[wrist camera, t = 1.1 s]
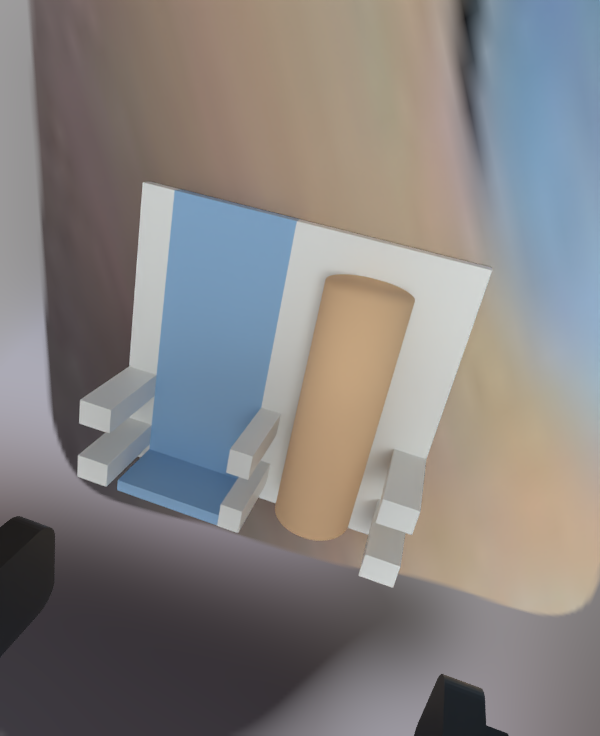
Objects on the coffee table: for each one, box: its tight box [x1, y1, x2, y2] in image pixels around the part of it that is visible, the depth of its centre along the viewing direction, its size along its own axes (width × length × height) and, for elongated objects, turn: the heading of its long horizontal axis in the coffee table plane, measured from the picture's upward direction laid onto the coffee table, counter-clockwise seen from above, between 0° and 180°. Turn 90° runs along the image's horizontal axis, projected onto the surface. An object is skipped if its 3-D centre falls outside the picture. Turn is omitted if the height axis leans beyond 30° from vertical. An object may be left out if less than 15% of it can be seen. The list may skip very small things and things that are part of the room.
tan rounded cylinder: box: [275, 274, 415, 541], centre depth 24 cm, size 11×4×4 cm, turn 169°
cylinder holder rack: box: [77, 181, 492, 588], centre depth 24 cm, size 14×15×5 cm
